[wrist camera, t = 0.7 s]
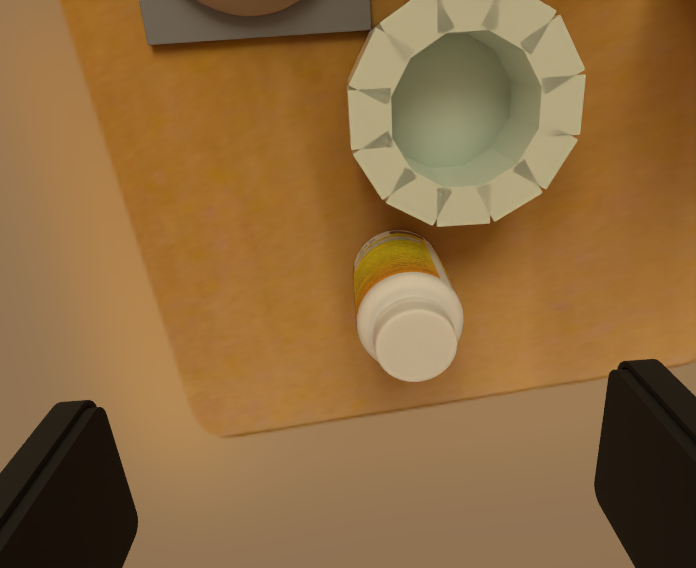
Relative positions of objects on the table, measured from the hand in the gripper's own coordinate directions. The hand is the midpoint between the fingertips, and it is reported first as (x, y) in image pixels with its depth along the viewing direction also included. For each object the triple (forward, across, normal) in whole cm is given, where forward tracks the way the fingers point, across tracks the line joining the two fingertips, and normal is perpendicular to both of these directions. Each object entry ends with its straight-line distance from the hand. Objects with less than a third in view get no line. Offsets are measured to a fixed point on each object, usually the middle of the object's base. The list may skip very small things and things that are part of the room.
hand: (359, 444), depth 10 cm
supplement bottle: (+25, -3, +6) cm, 26 cm away
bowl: (+24, -6, -4) cm, 25 cm away
